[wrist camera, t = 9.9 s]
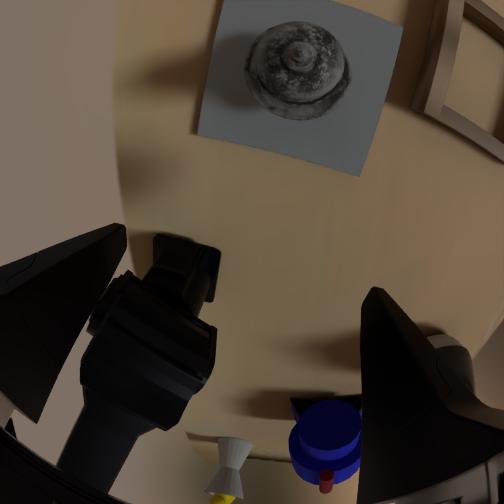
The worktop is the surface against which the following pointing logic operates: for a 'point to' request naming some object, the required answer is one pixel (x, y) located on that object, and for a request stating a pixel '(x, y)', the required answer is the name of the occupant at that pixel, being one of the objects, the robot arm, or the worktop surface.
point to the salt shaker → (298, 71)
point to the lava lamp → (228, 470)
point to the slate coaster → (293, 131)
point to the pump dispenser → (455, 358)
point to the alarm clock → (326, 441)
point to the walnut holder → (441, 64)
